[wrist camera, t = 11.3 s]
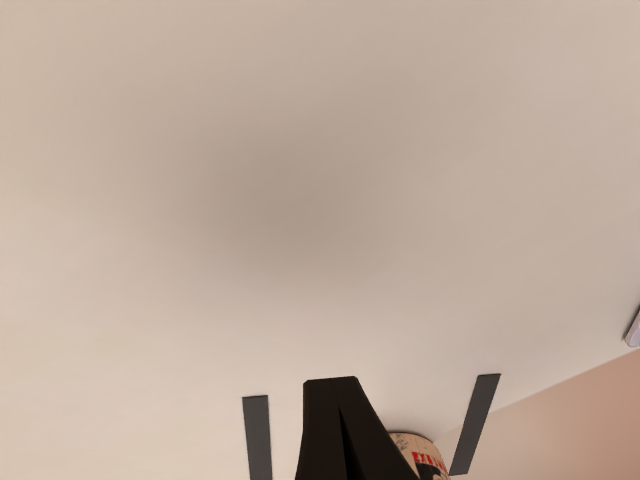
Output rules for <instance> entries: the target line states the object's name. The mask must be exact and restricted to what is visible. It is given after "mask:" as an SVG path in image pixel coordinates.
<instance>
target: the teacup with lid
mask: <svg viewBox="0 0 640 480" xmlns="http://www.w3.org/2000/svg"><path fill="white" fill-rule="evenodd" d="M389 435H390V437H391V438H392V440H393V441H394V443H395V444H396V446H397V447H398V449H399V450H400V452H401V453H402V455H403V456H404V458H405V459H406V460H407V462H408V463H409V465H410V466H411V468H412V469H413V470H414V472H415V473H416V474H417V476H418V477H419V478H420V480H450V477H449V475H448V472H447V470H446V467H445V465H444V462H443V460H442V458H441V455H440V453H439V451H438V449H437V448H436V447H435V446H434V445H433V444H432V443H431V442H430V441H428V440H426V439H424V438H422V437H420V436H417V435H412V434H405V433H390V434H389Z"/></svg>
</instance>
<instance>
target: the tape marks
mask: <svg viewBox="0 0 640 480" xmlns="http://www.w3.org/2000/svg"><path fill="white" fill-rule="evenodd" d="M500 376H501V374H493V375H482V376H478V379H477V382H476V385H475V389H474V392H473V395H472V399H471V402H470V405H469V409H468V412H467V415H466V419H465V422H464V425H463V428H462V432H461V435H460V439H459V442H458V445H457V449H456V452H455V455H454V458H453V462H452V465H451V468H450V472H449V476H454V475H462V474H467V473H468V470H469V467H470V464H471V461H472V458H473V455H474V452H475V449H476V446H477V444H478V441H479V438H480V435H481V432H482V429H483V426H484V423H485V420H486V417H487V414H488V411H489V408H490V405H491V402H492V399H493V396H494V394H495V391H496V388H497V385H498V382H499V379H500ZM242 401H243V411H244V420H245V430H246V440H247V450H248V460H249V470H250V480H272V466H271V449H270V431H269V413H268V396H258V397H248V398H242Z"/></svg>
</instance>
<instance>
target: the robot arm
mask: <svg viewBox="0 0 640 480" xmlns="http://www.w3.org/2000/svg"><path fill="white" fill-rule="evenodd" d="M625 343H626V344H627V345H628V346H630V347H640V311H639V313H638V315H637V317H636V319H635V321H634V323H633V325H632V326H631V328H630V330H629V332H628V334H627V336H626V338H625ZM295 480H420V478H419V477H418V476H417V474H416V473H415V472H414V470H413V469H412V468H411V466H410V465H409V463H408V462H407V460H406V459H405V458H404V456H403V455H402V453H401V452H400V450H399V449H398V447H397V446H396V444H395V443H394V441H393V440H392V438H391V437H390V435H389V434H388V432H387V430H386V429H385V427H384V426H383V424H382V422H381V421H380V419H379V417H378V416H377V414H376V412H375V411H374V409H373V407H372V405H371V404H370V402H369V400H368V398H367V396H366V395H365V393H364V391H363V389H362V387H361V385H360V383H359V381H358V379H357V378H356V377H355V376H348V377H337V378H325V379H314V380H307V381H306V382H305V383H303V434H302V441H301V447H300V454H299V461H298V466H297V471H296V476H295Z"/></svg>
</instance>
